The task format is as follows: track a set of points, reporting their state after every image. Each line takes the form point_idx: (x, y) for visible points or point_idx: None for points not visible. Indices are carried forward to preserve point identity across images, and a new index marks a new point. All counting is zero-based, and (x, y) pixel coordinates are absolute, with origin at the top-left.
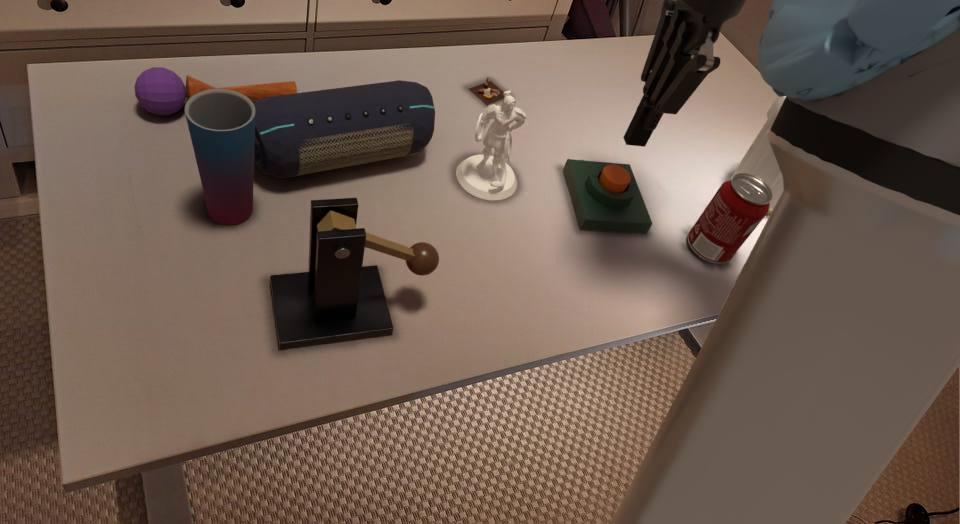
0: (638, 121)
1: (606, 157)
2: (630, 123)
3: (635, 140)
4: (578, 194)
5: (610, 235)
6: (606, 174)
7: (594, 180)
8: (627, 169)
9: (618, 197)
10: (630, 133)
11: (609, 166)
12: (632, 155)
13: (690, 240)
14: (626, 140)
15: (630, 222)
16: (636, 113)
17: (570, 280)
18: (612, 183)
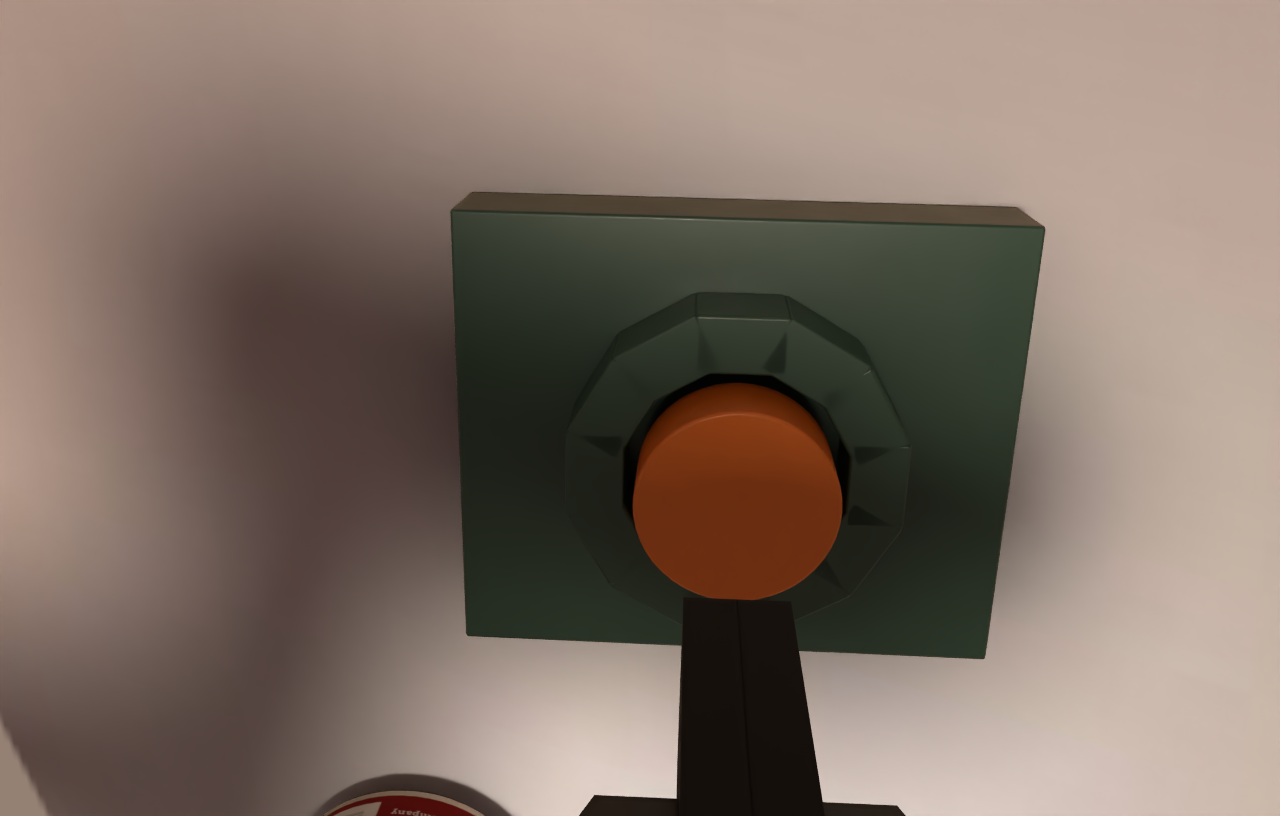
0: (682, 781)
1: (1131, 546)
2: (799, 702)
3: (680, 691)
4: (679, 218)
5: (451, 377)
6: (726, 427)
7: (734, 342)
8: (934, 629)
9: (577, 469)
10: (703, 663)
11: (816, 475)
12: (1142, 714)
13: (408, 804)
14: (710, 611)
15: (462, 505)
16: (789, 801)
17: (62, 23)
18: (651, 450)
